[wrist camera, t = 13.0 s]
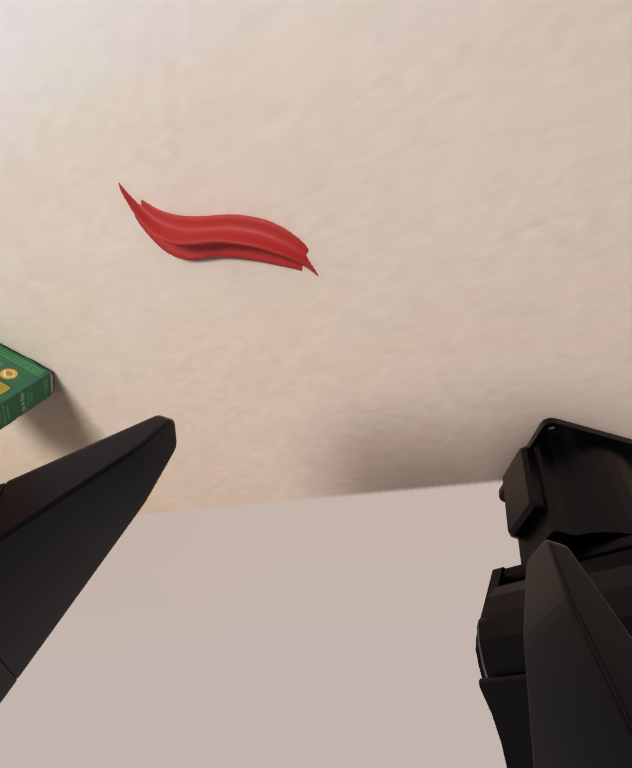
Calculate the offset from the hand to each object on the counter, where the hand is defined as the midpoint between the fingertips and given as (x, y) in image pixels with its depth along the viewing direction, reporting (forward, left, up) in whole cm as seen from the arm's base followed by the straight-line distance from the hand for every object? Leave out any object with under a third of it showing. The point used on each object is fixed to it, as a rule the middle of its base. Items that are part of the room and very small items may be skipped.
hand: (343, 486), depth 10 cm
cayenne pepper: (+10, 0, -14) cm, 17 cm away
